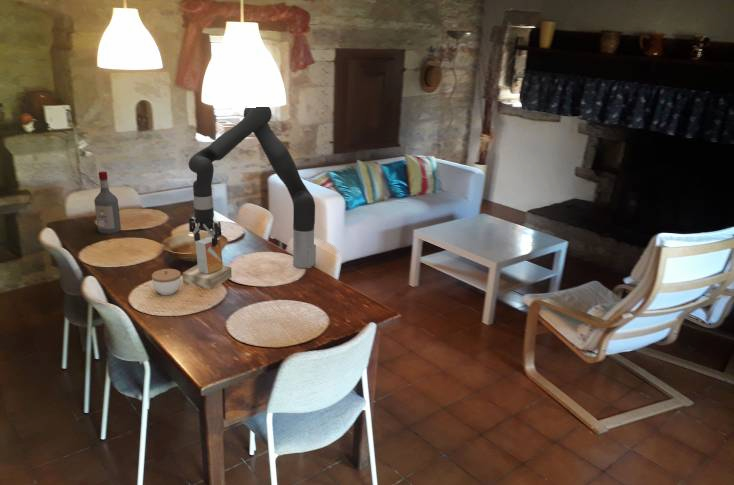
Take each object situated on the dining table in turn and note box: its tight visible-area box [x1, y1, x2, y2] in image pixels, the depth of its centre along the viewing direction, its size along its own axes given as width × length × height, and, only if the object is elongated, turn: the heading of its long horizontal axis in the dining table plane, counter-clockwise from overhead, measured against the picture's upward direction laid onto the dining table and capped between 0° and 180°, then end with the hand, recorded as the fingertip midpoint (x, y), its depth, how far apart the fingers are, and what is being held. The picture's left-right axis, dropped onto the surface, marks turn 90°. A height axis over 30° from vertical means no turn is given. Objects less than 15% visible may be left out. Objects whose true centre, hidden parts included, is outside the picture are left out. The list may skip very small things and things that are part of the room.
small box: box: [194, 236, 224, 274], centre depth 236 cm, size 8×6×13 cm
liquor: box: [93, 171, 122, 235], centre depth 283 cm, size 9×9×30 cm
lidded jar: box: [151, 268, 182, 296], centre depth 226 cm, size 11×11×9 cm
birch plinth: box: [181, 263, 232, 290], centre depth 239 cm, size 14×14×5 cm
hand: (206, 244), depth 234 cm, fingers open, 8 cm apart
